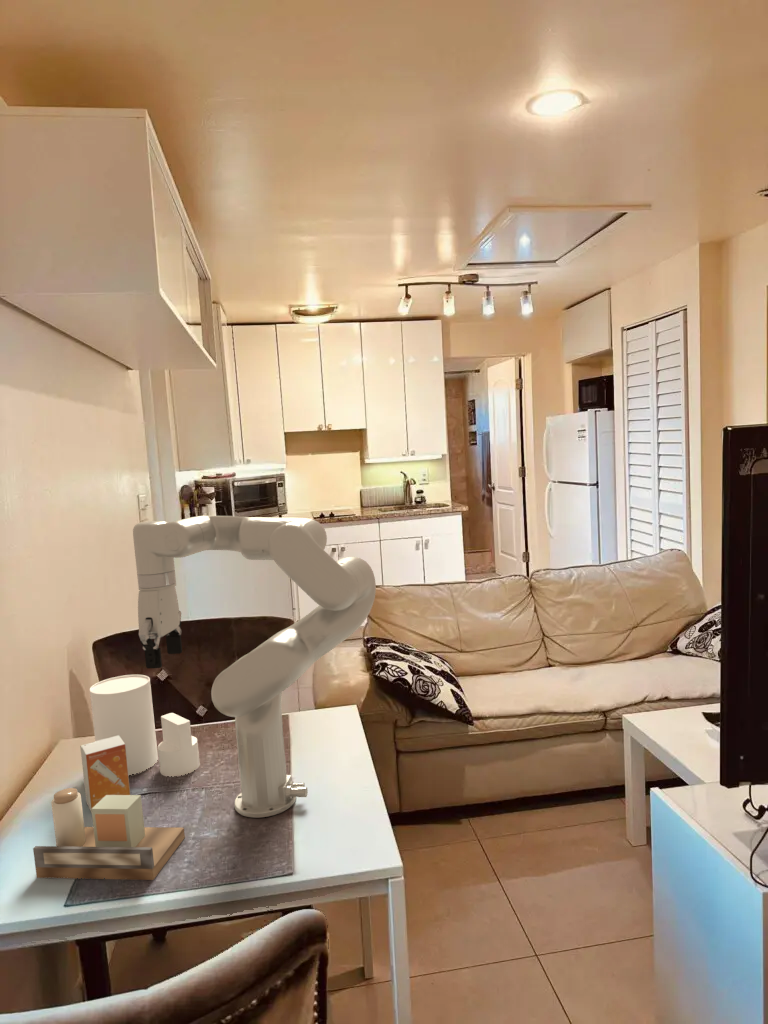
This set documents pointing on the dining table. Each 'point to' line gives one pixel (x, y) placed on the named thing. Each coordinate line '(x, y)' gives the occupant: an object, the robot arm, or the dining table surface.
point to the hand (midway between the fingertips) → (165, 660)
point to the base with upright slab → (177, 747)
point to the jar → (68, 818)
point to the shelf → (110, 857)
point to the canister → (126, 717)
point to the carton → (118, 821)
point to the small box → (104, 769)
